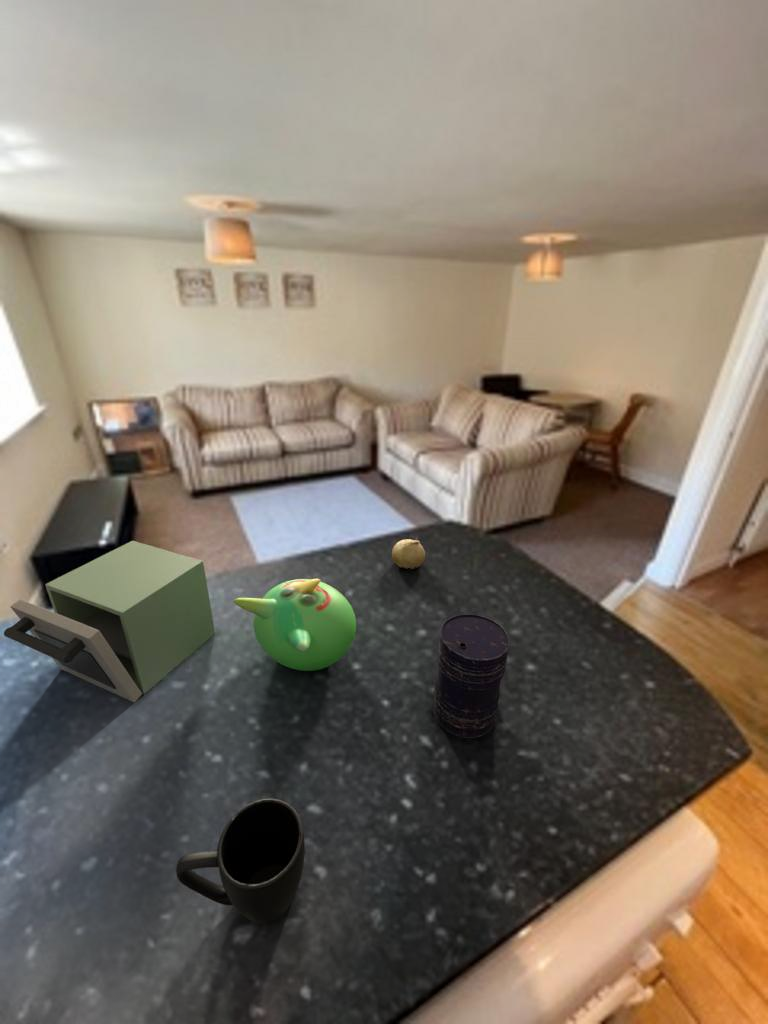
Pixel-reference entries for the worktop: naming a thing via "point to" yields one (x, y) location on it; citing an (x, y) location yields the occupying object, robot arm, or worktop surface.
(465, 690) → the dark oil drum
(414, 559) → the onion
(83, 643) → the door
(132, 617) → the oven
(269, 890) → the mug
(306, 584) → the toy bird
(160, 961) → the worktop surface
